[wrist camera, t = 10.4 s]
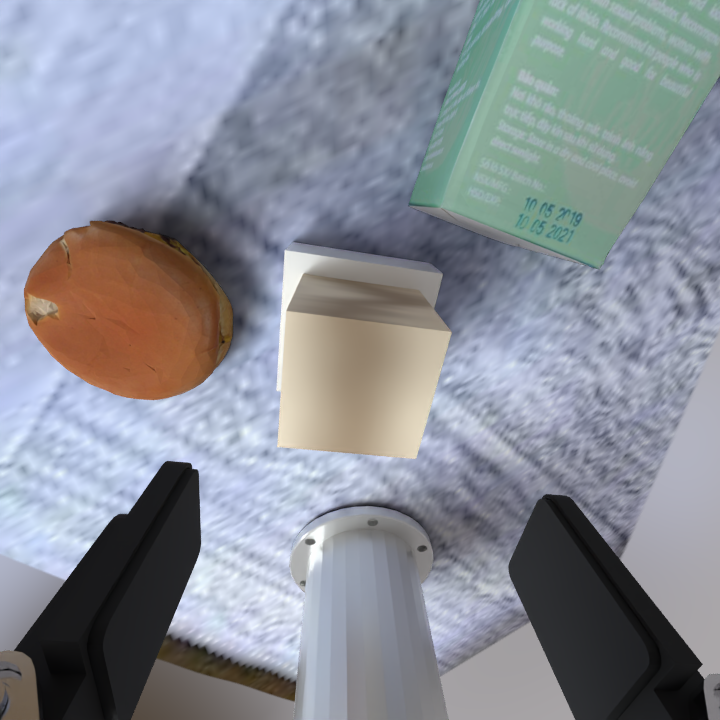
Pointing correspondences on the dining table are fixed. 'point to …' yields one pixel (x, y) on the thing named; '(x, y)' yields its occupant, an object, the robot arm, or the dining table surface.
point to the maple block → (359, 367)
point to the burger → (128, 311)
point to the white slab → (352, 275)
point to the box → (566, 118)
